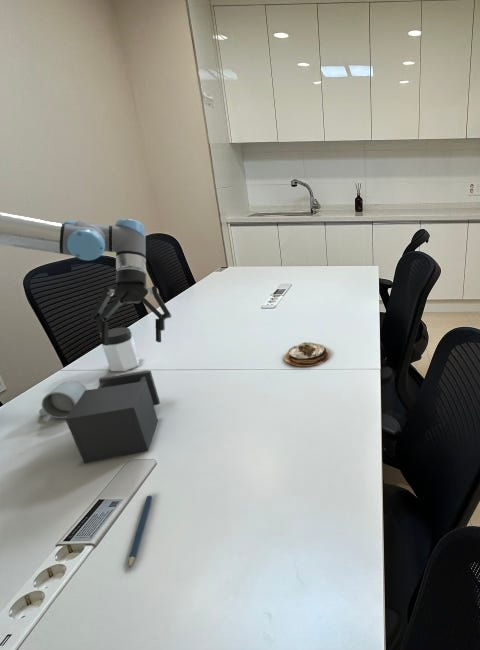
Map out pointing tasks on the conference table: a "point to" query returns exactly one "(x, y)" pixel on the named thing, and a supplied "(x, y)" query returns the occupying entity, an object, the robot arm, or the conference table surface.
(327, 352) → the layered cake
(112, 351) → the jar
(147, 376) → the basket
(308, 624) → the conference table surface
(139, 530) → the pencil
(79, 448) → the dark grey cube
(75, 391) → the ceramic mug
